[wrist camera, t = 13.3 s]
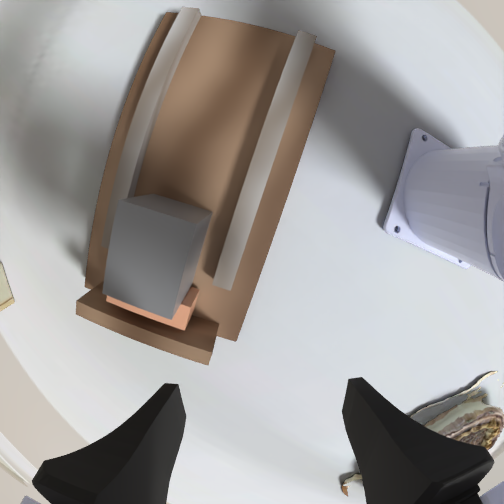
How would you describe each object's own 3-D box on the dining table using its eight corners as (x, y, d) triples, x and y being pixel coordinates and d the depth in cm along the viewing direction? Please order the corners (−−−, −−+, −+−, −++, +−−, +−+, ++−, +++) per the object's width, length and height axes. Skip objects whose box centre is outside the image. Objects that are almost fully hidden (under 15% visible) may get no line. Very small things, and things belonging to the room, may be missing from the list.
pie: (529, 344, 22) (550, 361, 17) (473, 458, 29) (483, 474, 24) (347, 421, 23) (360, 458, 19) (335, 511, 30) (339, 533, 25)
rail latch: (199, 289, 18) (190, 307, 16) (193, 310, 19) (184, 330, 16) (127, 264, 18) (109, 277, 15) (124, 285, 18) (106, 301, 16)
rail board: (331, 56, 16) (351, 26, 11) (236, 334, 20) (232, 372, 16) (170, 18, 15) (151, -14, 10) (90, 282, 20) (58, 305, 15)
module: (212, 211, 17) (196, 224, 13) (191, 285, 19) (171, 320, 14) (153, 193, 17) (118, 199, 12) (136, 266, 18) (102, 293, 13)
